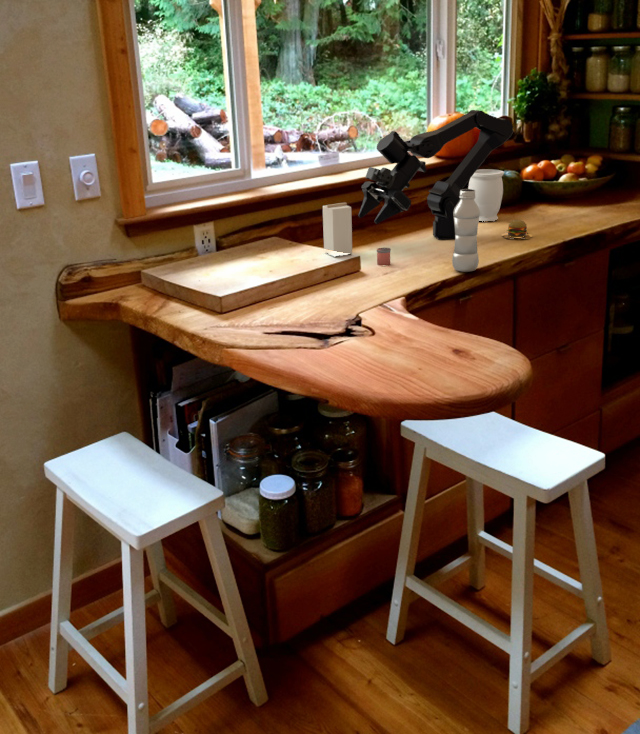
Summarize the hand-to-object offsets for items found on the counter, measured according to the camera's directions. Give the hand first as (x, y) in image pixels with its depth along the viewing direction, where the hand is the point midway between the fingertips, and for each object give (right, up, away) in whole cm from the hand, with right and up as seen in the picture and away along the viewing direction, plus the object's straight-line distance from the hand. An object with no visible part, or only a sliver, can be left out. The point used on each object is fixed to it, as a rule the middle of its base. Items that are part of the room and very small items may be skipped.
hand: (367, 219), depth 225 cm
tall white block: (-8, -9, 0) cm, 12 cm away
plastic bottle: (+23, -17, -21) cm, 35 cm away
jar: (+39, +6, +33) cm, 51 cm away
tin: (+4, -14, -12) cm, 18 cm away
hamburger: (+44, -4, +11) cm, 45 cm away
